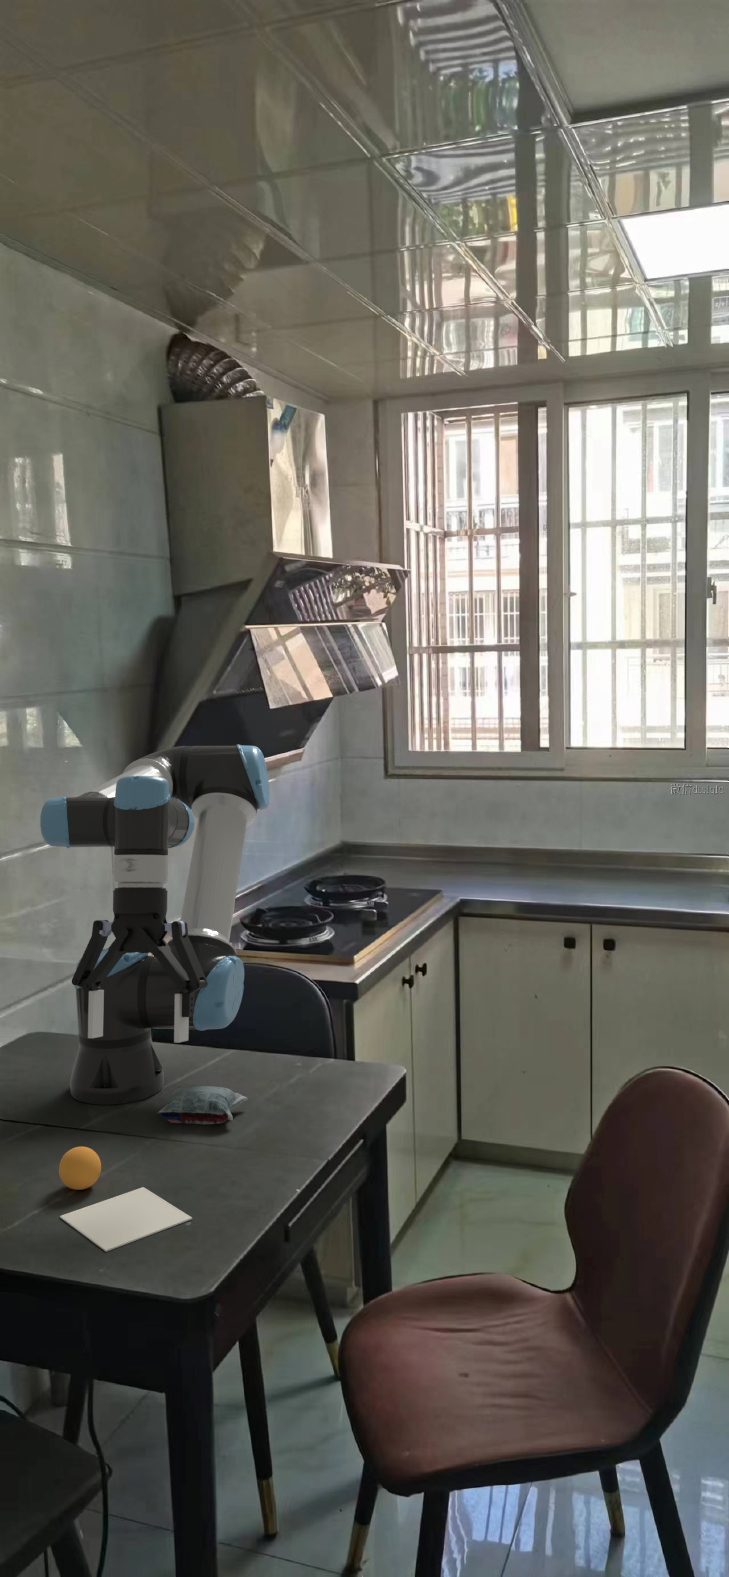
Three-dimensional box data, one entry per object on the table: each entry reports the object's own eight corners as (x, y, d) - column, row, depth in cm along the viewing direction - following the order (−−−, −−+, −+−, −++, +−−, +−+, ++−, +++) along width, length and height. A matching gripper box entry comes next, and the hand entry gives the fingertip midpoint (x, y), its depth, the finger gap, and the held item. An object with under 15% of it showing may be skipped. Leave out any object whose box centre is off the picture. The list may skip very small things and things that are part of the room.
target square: (59, 1217, 150) (59, 1215, 150) (143, 1188, 157) (143, 1187, 157) (106, 1251, 141) (105, 1250, 141) (192, 1219, 148) (192, 1217, 148)
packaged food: (176, 1106, 187) (174, 1076, 186) (248, 1109, 185) (247, 1079, 184) (156, 1128, 178) (155, 1097, 178) (232, 1132, 176) (231, 1101, 176)
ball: (52, 1187, 158) (50, 1147, 158) (90, 1175, 162) (88, 1136, 161) (71, 1200, 154) (69, 1160, 154) (109, 1188, 158) (107, 1148, 157)
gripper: (49, 886, 167) (45, 1038, 165) (207, 885, 159) (205, 1046, 157) (79, 886, 174) (75, 1032, 172) (232, 886, 166) (230, 1039, 164)
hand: (137, 1039), depth 165 cm, fingers open, 13 cm apart
